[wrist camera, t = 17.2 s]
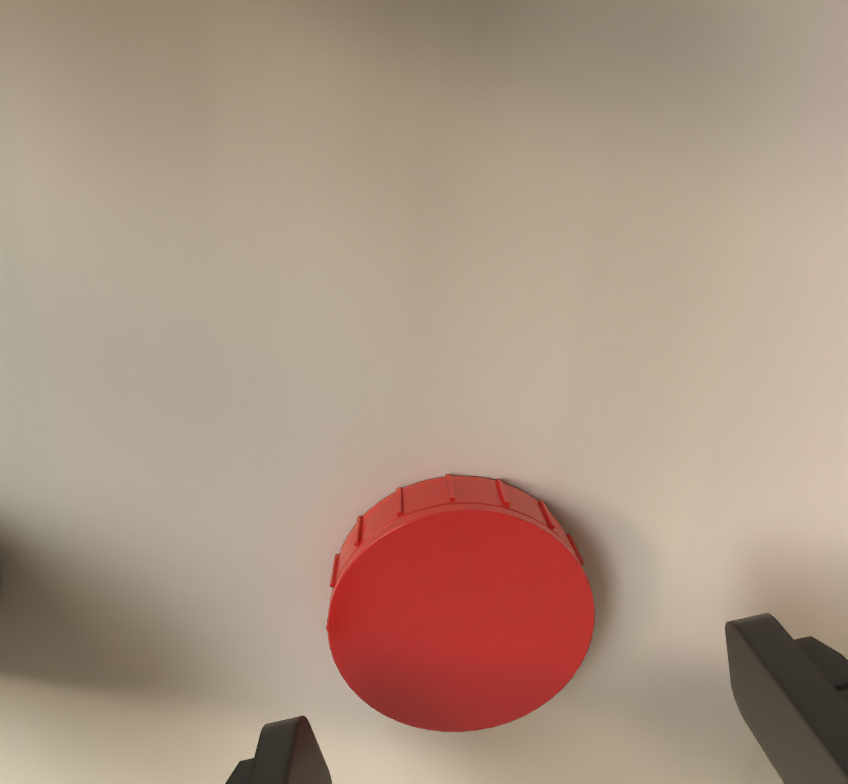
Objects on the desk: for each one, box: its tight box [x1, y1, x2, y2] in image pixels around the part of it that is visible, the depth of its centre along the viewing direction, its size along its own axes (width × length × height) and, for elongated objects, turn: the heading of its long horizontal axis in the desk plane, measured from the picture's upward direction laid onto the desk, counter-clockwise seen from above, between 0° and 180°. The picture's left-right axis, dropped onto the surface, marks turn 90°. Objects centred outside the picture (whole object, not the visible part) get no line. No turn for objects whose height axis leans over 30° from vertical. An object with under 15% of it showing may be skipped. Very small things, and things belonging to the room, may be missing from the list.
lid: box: [326, 474, 595, 732], centre depth 14 cm, size 6×6×2 cm
